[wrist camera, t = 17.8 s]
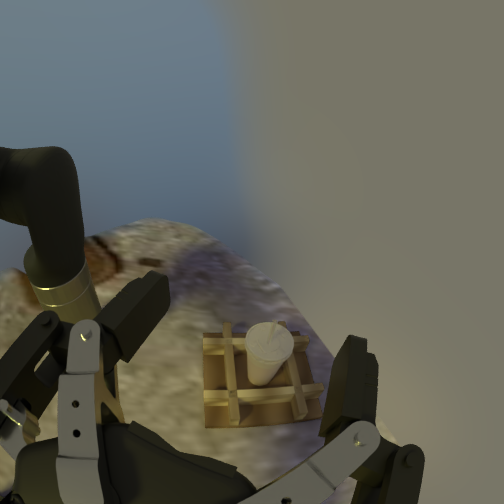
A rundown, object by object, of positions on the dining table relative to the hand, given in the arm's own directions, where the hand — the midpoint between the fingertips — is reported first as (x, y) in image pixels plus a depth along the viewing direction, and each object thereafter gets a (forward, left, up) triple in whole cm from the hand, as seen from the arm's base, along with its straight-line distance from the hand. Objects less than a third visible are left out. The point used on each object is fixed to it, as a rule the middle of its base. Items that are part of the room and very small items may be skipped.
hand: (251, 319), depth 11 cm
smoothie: (+6, +13, -29) cm, 33 cm away
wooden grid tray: (+6, +13, -30) cm, 33 cm away
